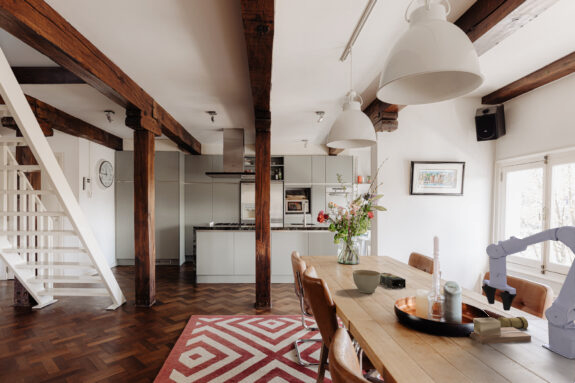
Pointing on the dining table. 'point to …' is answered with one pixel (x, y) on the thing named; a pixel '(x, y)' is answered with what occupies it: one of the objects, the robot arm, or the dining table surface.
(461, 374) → the dining table surface
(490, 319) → the pale gold block
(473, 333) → the walnut board
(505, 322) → the gavel
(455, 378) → the dining table surface
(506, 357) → the dining table surface
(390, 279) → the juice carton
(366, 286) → the planter bowl
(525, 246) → the robot arm
